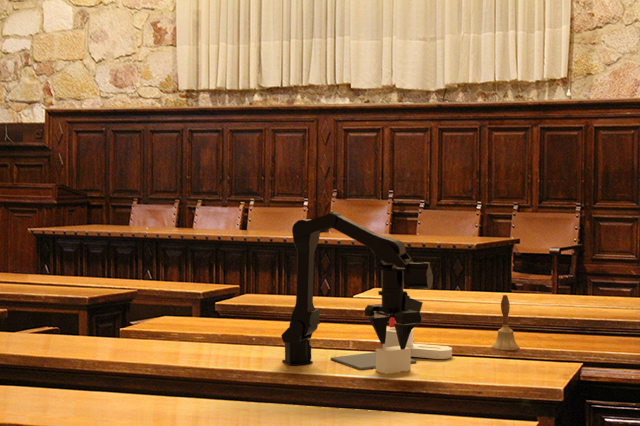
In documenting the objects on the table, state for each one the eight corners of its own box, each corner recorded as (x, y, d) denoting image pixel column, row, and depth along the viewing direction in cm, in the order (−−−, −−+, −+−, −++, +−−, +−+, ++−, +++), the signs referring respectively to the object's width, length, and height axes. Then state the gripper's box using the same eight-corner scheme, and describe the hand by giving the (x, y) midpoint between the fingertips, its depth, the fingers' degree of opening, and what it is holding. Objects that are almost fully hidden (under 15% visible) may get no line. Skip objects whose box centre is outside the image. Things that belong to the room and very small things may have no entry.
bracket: (379, 353, 233) (379, 330, 233) (387, 349, 241) (387, 326, 241) (448, 359, 227) (449, 335, 227) (454, 354, 235) (454, 331, 235)
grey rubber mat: (360, 370, 215) (360, 367, 215) (330, 359, 229) (330, 357, 229) (416, 362, 224) (416, 360, 224) (383, 353, 238) (383, 351, 238)
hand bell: (520, 350, 240) (520, 297, 240) (491, 350, 242) (491, 296, 241) (519, 345, 248) (519, 293, 248) (491, 345, 250) (491, 293, 249)
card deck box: (385, 374, 210) (385, 351, 210) (375, 371, 214) (375, 348, 214) (410, 371, 214) (410, 348, 214) (400, 367, 218) (400, 345, 218)
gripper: (438, 289, 209) (439, 349, 210) (397, 282, 226) (397, 338, 226) (403, 291, 204) (403, 353, 204) (363, 284, 220) (363, 342, 221)
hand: (392, 346), depth 214 cm, fingers open, 9 cm apart
